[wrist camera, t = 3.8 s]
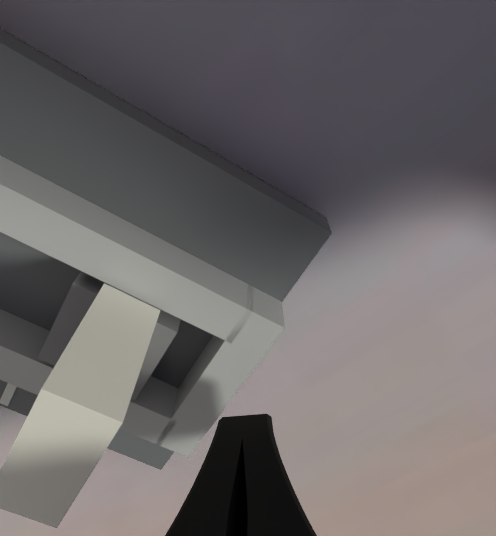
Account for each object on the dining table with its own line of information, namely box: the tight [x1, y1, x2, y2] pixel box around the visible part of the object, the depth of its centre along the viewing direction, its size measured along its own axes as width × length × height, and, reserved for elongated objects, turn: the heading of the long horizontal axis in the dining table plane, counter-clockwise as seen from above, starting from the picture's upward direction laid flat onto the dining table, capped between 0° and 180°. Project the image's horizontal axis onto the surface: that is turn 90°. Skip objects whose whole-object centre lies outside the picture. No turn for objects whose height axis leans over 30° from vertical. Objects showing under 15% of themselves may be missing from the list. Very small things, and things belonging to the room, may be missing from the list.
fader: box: [0, 271, 181, 528], centre depth 12 cm, size 3×4×6 cm
